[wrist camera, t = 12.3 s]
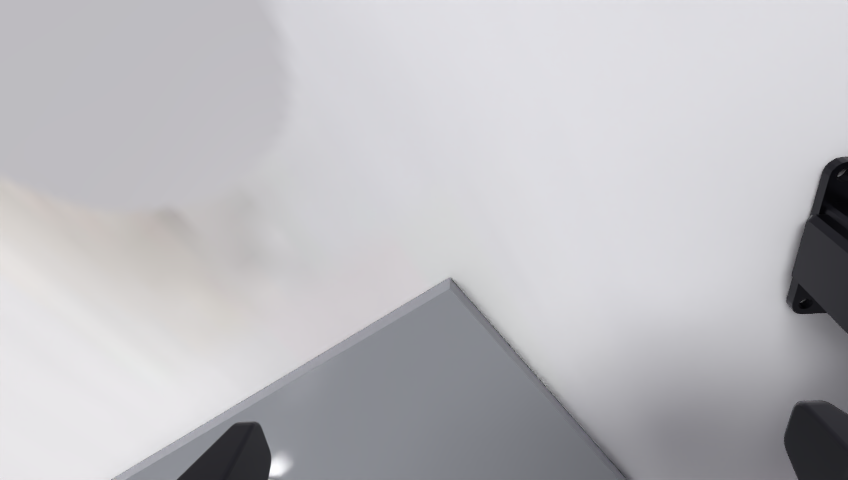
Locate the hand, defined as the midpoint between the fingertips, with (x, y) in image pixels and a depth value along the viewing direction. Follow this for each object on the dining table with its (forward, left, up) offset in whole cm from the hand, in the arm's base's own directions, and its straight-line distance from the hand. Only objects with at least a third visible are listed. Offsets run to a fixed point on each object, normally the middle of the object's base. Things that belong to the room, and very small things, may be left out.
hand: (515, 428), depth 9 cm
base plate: (+8, +18, -12) cm, 23 cm away
